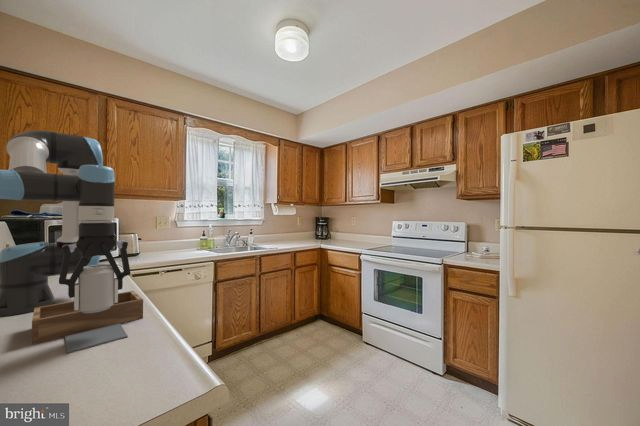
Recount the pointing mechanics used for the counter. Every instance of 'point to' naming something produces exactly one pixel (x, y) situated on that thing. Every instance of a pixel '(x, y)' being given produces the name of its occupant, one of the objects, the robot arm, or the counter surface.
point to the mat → (94, 337)
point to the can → (96, 288)
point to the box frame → (82, 317)
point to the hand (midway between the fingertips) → (96, 305)
